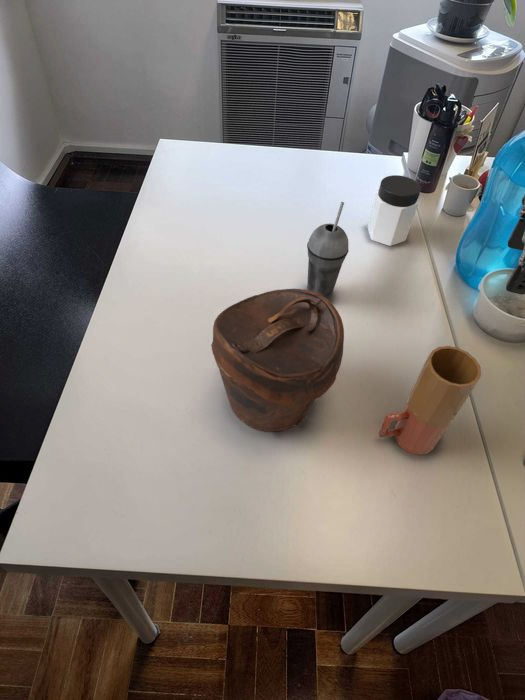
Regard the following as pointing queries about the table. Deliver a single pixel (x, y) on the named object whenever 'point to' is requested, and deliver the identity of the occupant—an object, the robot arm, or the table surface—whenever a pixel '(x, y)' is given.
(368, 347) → the table surface
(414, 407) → the wooden cup
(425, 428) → the mug
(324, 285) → the beverage cup
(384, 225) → the jar
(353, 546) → the table surface
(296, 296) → the case
